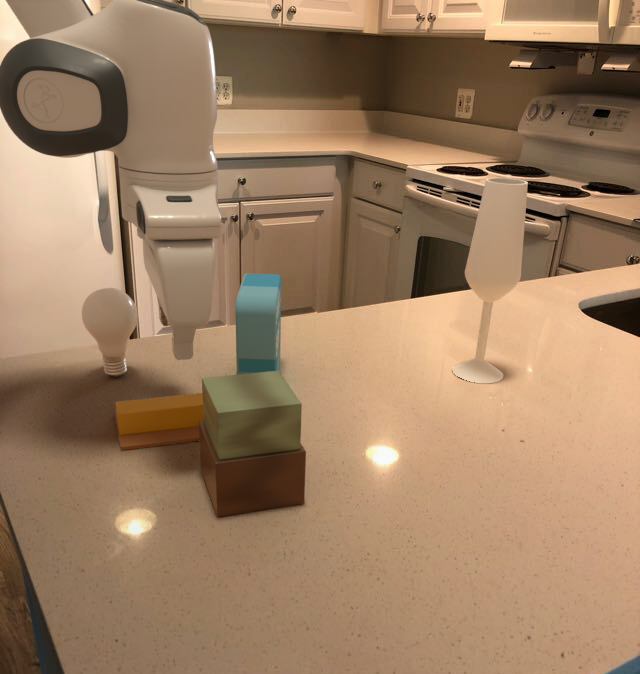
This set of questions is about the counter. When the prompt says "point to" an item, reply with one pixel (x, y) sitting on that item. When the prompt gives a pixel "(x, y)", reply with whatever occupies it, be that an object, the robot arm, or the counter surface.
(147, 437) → the cork mat
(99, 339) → the lightbulb
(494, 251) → the champagne flute
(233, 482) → the tower
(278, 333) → the data package
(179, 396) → the bar
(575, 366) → the counter surface
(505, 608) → the counter surface
